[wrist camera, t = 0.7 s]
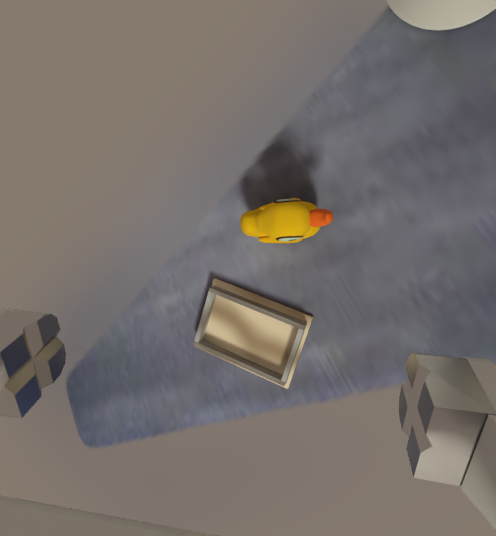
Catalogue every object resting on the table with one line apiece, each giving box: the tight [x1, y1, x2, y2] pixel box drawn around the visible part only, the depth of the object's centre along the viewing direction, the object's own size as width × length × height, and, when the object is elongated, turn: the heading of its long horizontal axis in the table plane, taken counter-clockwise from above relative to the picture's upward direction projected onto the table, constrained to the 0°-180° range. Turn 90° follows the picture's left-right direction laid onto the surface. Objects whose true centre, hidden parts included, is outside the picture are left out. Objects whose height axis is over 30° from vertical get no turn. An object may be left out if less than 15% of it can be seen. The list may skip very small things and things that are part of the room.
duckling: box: [241, 198, 333, 243], centre depth 45 cm, size 11×5×10 cm, turn 94°
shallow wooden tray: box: [193, 278, 313, 389], centre depth 52 cm, size 10×14×2 cm
